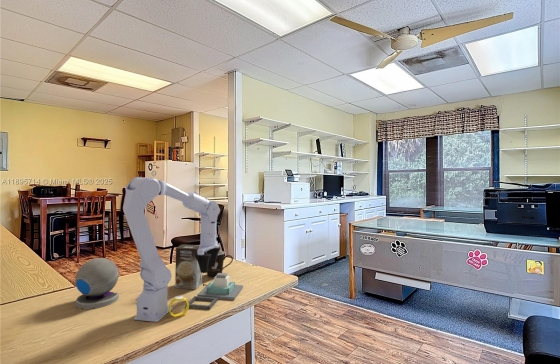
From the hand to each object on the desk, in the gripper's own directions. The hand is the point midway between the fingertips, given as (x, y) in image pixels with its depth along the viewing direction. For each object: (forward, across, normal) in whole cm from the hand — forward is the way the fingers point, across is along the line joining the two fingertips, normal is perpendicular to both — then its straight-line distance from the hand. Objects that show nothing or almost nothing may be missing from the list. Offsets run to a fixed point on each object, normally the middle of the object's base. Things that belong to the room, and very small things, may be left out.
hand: (207, 269), depth 110 cm
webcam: (+10, -12, +36) cm, 39 cm away
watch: (+10, -16, +3) cm, 19 cm away
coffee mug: (+10, +22, +4) cm, 24 cm away
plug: (+9, +4, -4) cm, 10 cm away
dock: (+10, +4, -4) cm, 11 cm away
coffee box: (+10, +8, +11) cm, 17 cm away
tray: (+10, -7, -1) cm, 12 cm away
